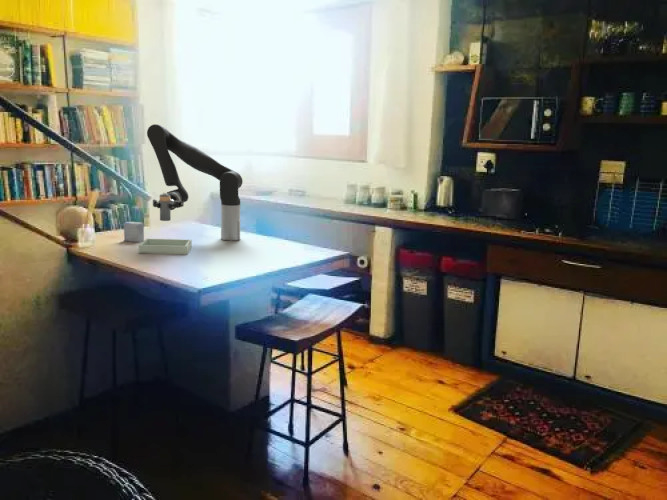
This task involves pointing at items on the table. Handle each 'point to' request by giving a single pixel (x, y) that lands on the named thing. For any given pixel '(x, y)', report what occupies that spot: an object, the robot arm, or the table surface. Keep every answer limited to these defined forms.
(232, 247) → the table surface
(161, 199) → the battery cell
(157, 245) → the trough
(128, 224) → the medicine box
